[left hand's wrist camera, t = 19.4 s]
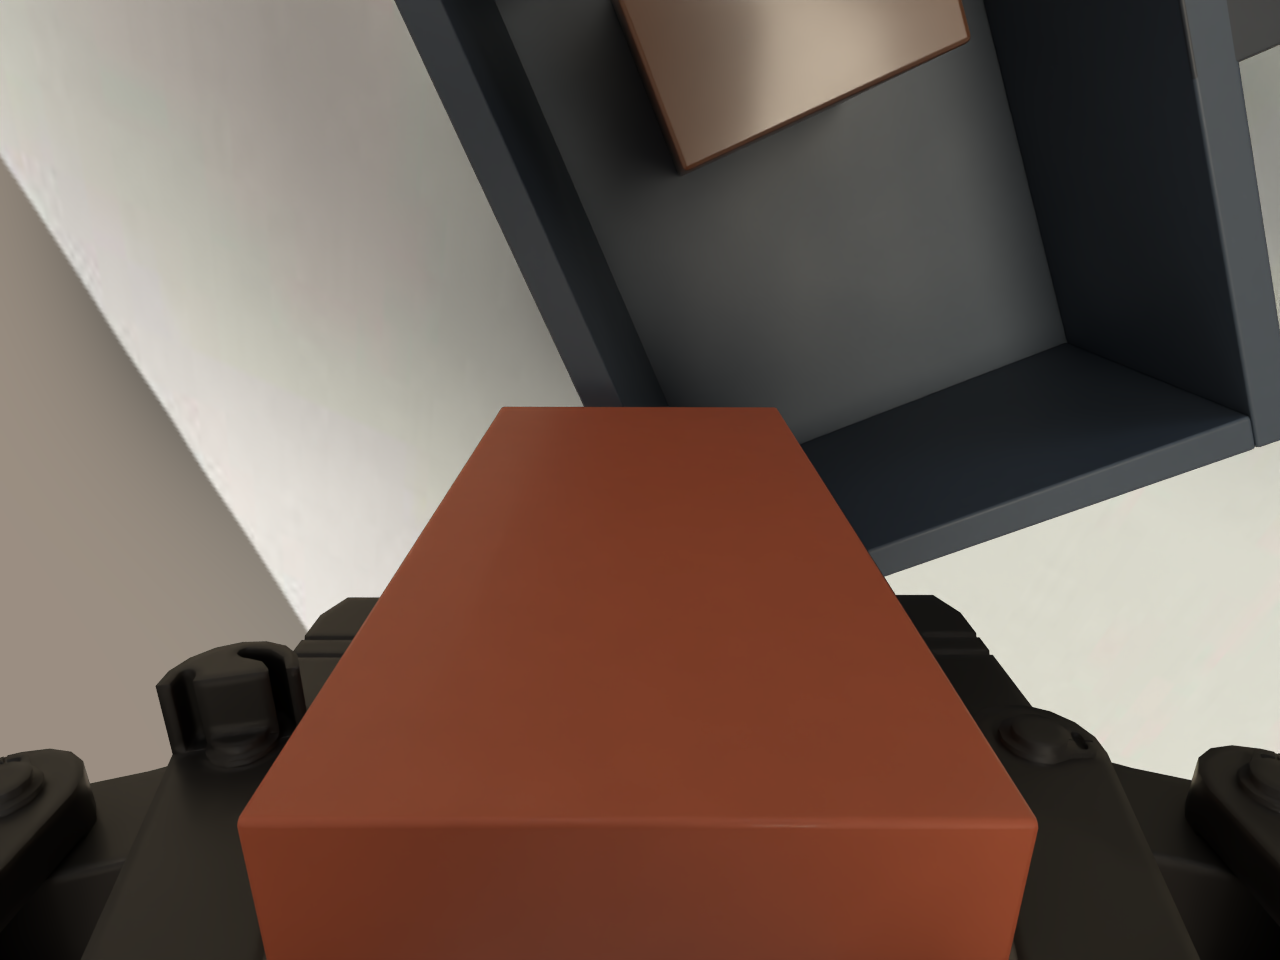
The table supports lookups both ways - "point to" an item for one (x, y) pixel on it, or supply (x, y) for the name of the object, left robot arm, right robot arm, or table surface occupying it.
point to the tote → (906, 252)
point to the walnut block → (772, 61)
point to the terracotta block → (637, 726)
